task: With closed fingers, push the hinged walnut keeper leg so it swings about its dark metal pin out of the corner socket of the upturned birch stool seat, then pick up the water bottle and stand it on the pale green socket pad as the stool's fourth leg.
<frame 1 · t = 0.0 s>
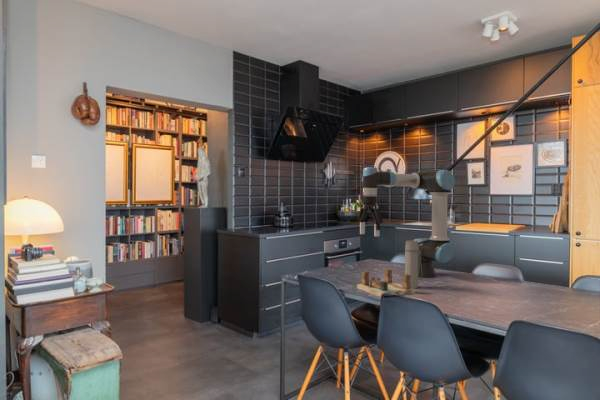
hand: (369, 235, 211), 28 cm above the table, fingers open, 13 cm apart
keeper leg: (377, 283, 198), point 4 cm above the table, hinge at 0.0°
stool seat: (385, 290, 203), on the table
water bottle: (413, 287, 210), on the table
socket pad: (384, 293, 196), resting on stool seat
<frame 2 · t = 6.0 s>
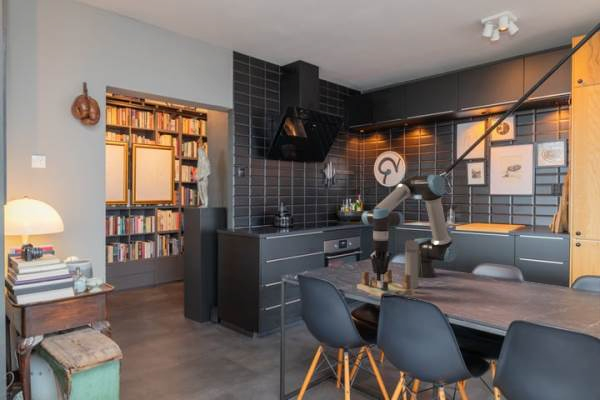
hand: (380, 287, 193), 4 cm above the table, fingers closed
keeper leg: (378, 283, 198), point 5 cm above the table, hinge at 1.5°, touching gripper
everything else where it was.
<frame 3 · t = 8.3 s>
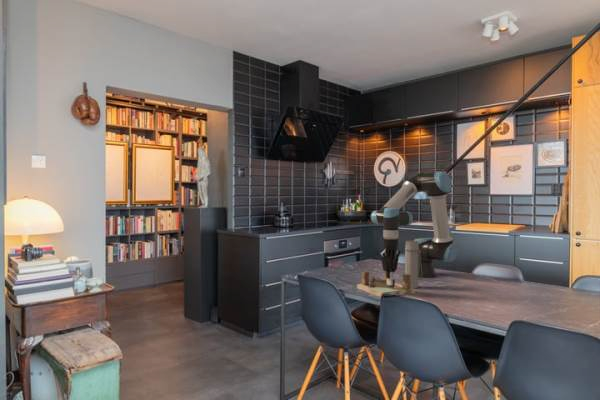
hand: (389, 284, 198), 4 cm above the table, fingers closed
keeper leg: (381, 282, 201), point 4 cm above the table, hinge at 48.0°, touching gripper
everything else where it was.
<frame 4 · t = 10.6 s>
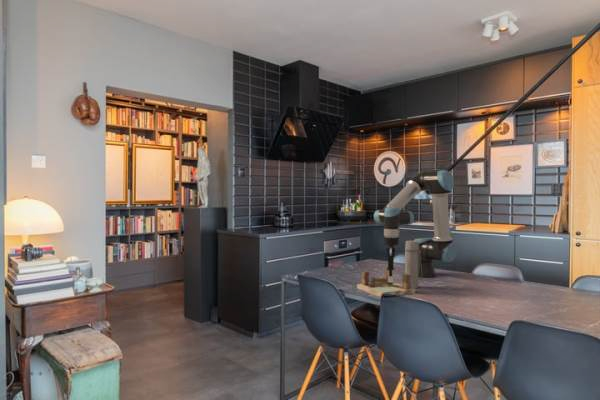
hand: (390, 282, 203), 4 cm above the table, fingers closed
keeper leg: (380, 281, 204), point 4 cm above the table, hinge at 81.5°, touching gripper
everything else where it was.
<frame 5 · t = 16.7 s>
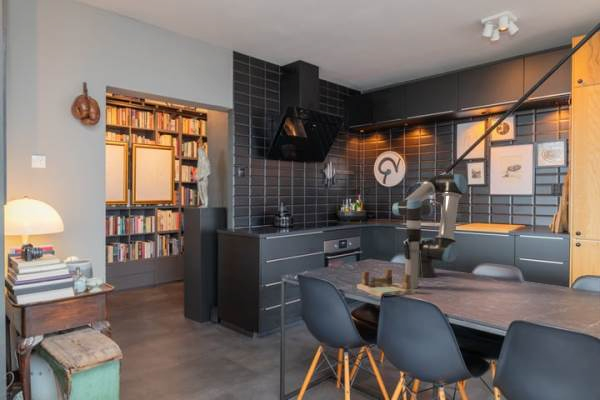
hand: (413, 271, 210), 8 cm above the table, fingers closed
keeper leg: (380, 281, 204), point 5 cm above the table, hinge at 85.8°
water bottle: (413, 287, 210), on the table, touching hand
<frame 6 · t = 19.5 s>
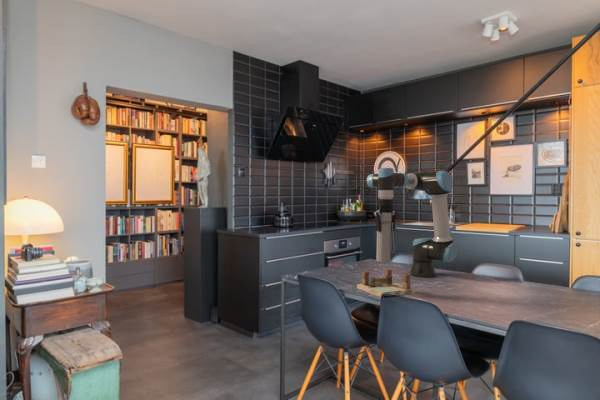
hand: (385, 245, 196), 24 cm above the table, fingers closed
water bottle: (385, 262, 196), point 16 cm above the table, touching hand
everything else where it was.
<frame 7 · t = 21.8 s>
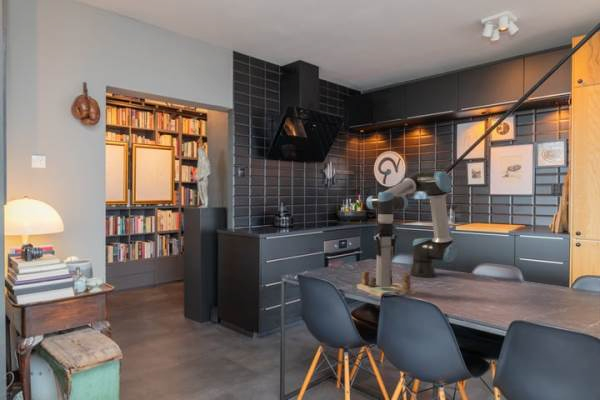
hand: (385, 269, 196), 12 cm above the table, fingers closed
water bottle: (384, 286, 196), point 4 cm above the table, touching hand
everything else where it was.
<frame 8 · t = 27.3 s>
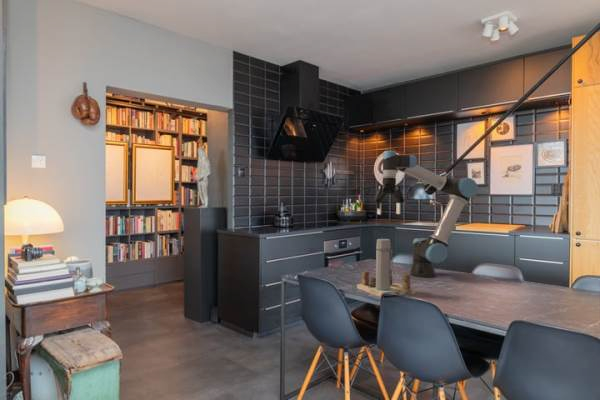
hand: (388, 214, 226), 39 cm above the table, fingers open, 13 cm apart
water bottle: (384, 289, 196), point 2 cm above the table, touching socket pad
everything else where it was.
at the end: keeper leg at +86° (first picture: +0°); water bottle 0.1 cm from the socket pad (horizontally); water bottle tilted 0° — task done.
